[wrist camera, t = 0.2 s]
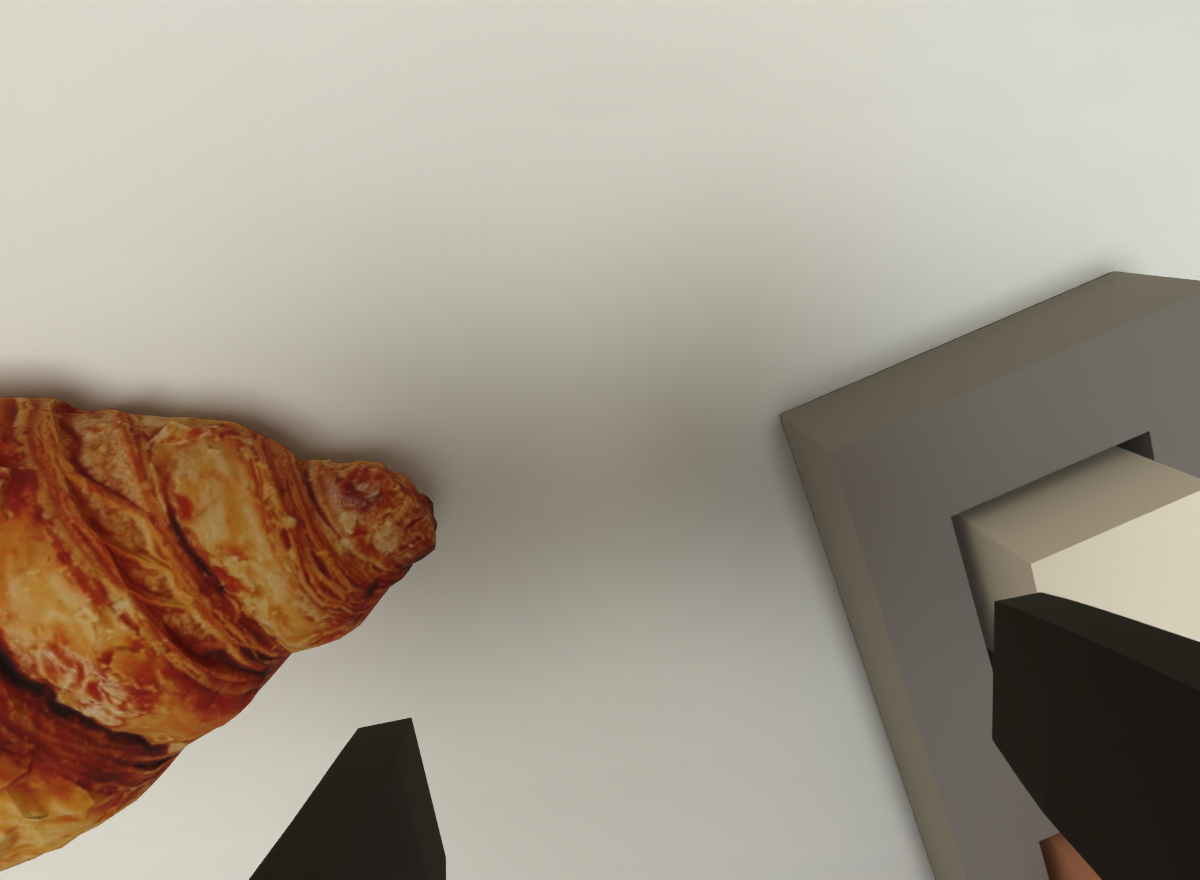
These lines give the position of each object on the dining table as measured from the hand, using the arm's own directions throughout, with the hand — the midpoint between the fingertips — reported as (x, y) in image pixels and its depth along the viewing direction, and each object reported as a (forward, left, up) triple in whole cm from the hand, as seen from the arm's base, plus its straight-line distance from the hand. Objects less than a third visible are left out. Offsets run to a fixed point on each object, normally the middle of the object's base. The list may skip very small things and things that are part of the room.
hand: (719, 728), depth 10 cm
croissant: (+3, +14, -11) cm, 18 cm away
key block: (-11, -9, -10) cm, 17 cm away
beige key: (-6, -9, -8) cm, 13 cm away
